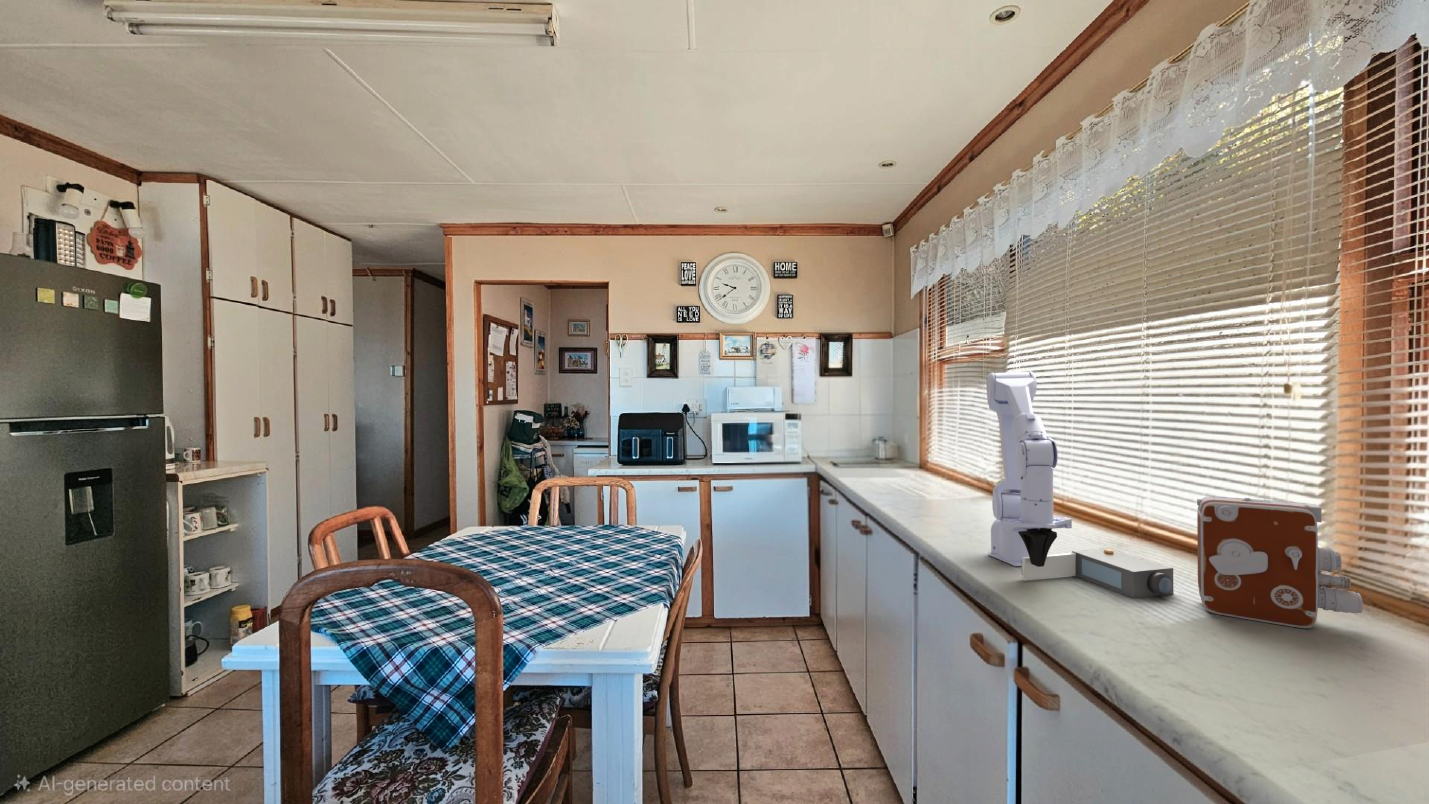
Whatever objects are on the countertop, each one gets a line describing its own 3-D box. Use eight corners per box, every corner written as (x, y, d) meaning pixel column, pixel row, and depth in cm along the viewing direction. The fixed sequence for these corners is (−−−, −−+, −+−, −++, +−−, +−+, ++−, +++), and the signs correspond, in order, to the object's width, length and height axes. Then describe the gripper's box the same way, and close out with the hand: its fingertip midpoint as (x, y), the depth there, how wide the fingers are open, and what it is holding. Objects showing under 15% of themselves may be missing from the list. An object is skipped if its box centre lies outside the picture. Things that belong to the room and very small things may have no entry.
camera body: (1072, 574, 117) (1071, 548, 117) (1108, 571, 119) (1108, 545, 119) (1142, 602, 102) (1142, 571, 102) (1183, 597, 103) (1183, 567, 103)
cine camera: (1371, 643, 84) (1370, 512, 84) (1201, 615, 96) (1200, 499, 95) (1351, 622, 91) (1351, 502, 91) (1196, 598, 103) (1195, 491, 103)
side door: (1071, 573, 117) (1071, 551, 117) (1077, 575, 116) (1077, 553, 116) (1020, 578, 115) (1019, 556, 115) (1025, 580, 114) (1024, 558, 114)
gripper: (1019, 504, 107) (1020, 574, 107) (1084, 500, 110) (1084, 568, 110) (994, 498, 114) (995, 563, 114) (1056, 493, 117) (1056, 557, 117)
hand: (1037, 565), depth 112 cm, fingers closed
